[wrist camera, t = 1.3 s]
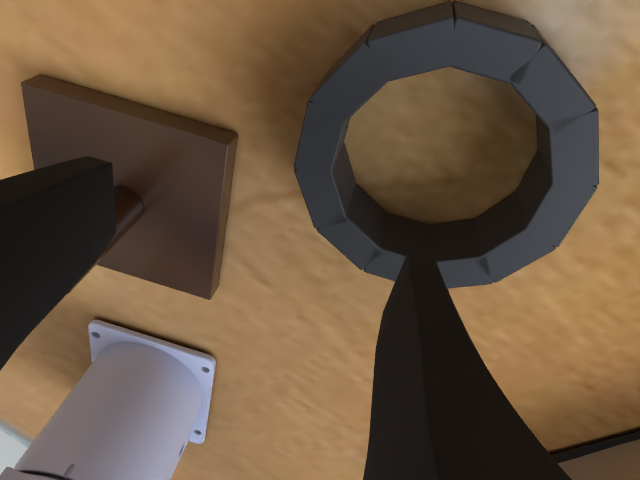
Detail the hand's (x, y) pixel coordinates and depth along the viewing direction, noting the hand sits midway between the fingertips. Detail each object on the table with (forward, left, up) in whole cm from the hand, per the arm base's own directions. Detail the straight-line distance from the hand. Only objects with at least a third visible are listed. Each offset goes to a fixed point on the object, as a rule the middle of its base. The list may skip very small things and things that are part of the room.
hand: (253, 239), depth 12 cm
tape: (0, -5, -9) cm, 10 cm away
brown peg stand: (-7, +8, -9) cm, 14 cm away
